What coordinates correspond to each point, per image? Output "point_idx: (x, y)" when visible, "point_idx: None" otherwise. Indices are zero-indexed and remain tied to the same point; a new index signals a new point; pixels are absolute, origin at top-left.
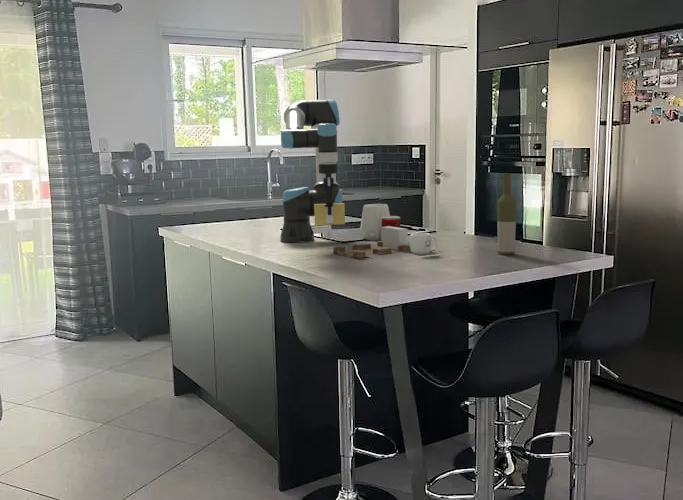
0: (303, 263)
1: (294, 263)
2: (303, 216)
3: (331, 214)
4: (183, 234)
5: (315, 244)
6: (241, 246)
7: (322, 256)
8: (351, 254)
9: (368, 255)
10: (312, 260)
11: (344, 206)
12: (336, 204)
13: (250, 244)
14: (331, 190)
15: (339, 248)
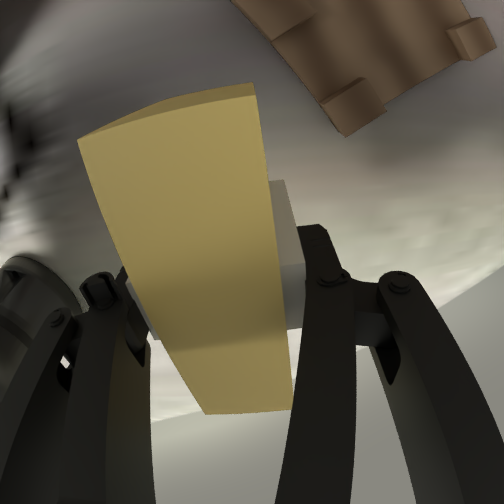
0: (494, 227)
1: (485, 250)
2: (11, 343)
3: (320, 226)
4: None
5: (90, 238)
6: (172, 395)
7: (404, 174)
8: (432, 59)
9: (457, 3)
10: (465, 205)
11: (253, 93)
12: (275, 234)
13: None
14: (501, 467)
15: (383, 106)
